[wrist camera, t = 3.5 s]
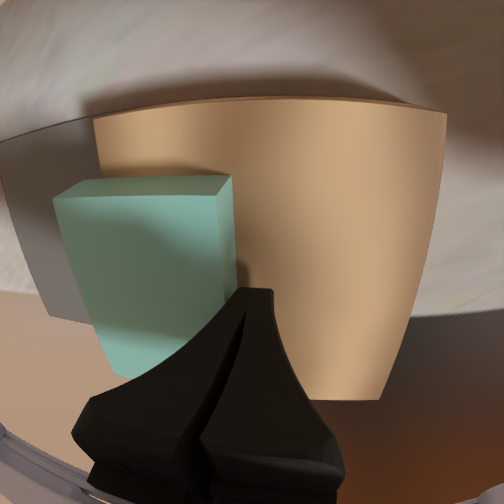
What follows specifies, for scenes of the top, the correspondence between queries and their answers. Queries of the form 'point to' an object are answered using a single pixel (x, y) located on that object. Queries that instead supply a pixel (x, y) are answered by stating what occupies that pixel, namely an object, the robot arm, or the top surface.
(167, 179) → the mint green block
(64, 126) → the mat
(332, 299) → the wooden block
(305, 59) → the top surface
